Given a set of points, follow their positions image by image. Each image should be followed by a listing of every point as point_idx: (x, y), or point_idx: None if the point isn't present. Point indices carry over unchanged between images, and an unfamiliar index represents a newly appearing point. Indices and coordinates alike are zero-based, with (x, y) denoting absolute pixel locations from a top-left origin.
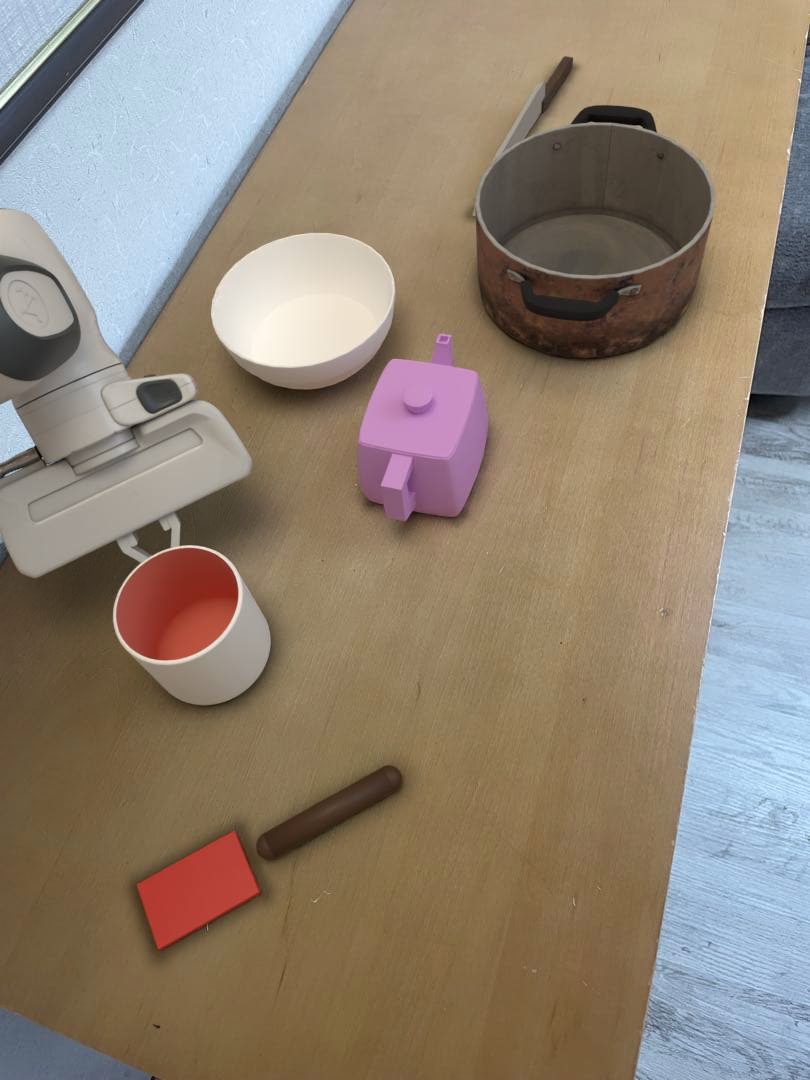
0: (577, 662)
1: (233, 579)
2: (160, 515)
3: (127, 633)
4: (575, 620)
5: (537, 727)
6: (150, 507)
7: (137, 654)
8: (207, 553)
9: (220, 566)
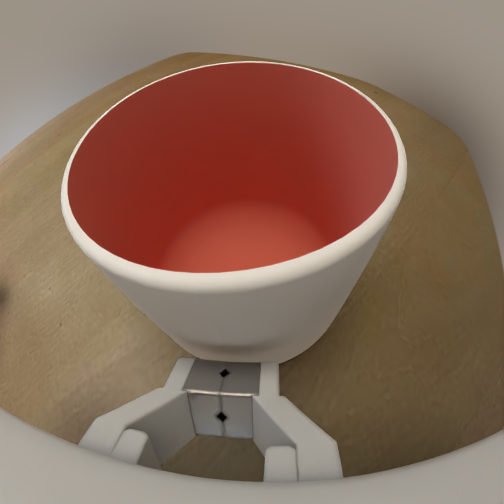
0: (41, 151)
1: (118, 252)
2: (97, 457)
3: (377, 194)
4: (19, 172)
5: (84, 127)
6: (93, 501)
7: (349, 85)
8: (81, 225)
9: (104, 246)
